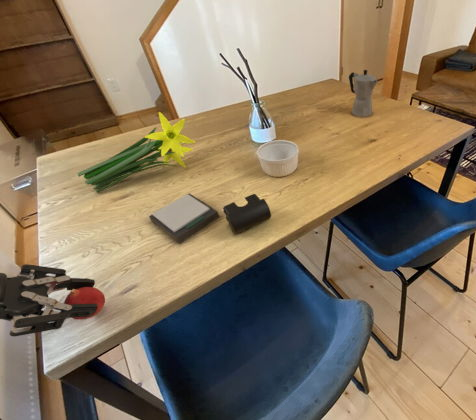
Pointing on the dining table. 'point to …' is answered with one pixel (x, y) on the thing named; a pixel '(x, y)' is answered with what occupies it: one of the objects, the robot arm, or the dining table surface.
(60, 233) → the dining table surface
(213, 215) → the kitchen scale
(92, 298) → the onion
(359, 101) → the coffeepot
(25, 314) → the robot arm
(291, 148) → the ramekin
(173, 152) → the daffodil flowers
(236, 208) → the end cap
